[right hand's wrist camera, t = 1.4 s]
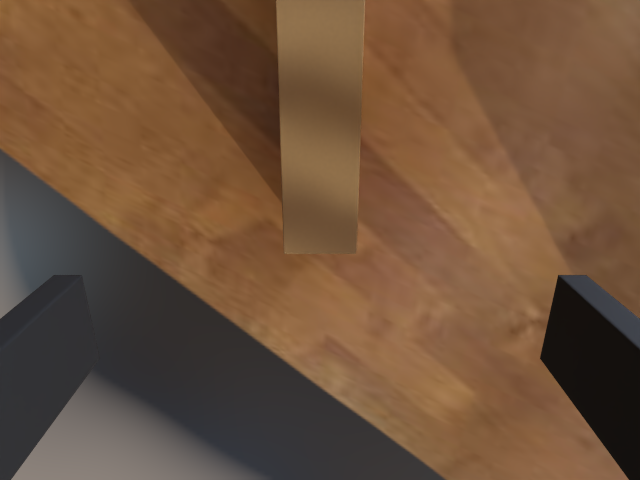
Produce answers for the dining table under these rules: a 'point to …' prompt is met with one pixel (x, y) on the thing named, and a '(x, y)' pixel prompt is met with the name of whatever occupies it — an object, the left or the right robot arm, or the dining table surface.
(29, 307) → the right robot arm
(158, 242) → the dining table surface
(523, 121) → the dining table surface
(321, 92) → the beam
